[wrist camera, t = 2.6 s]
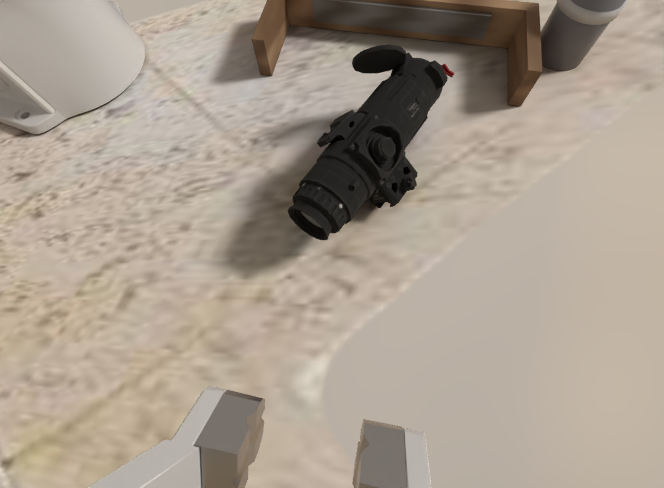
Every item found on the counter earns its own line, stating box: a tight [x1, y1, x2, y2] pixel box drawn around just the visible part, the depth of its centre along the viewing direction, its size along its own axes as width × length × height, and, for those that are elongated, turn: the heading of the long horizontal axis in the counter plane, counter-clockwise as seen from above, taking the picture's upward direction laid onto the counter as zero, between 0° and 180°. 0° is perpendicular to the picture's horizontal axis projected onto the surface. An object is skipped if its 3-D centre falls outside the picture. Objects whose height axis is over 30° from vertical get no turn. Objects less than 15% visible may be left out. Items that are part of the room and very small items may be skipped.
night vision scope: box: [288, 45, 454, 240], centre depth 28 cm, size 8×18×10 cm
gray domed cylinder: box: [540, 0, 627, 71], centre depth 33 cm, size 5×5×7 cm
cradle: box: [252, 0, 543, 106], centre depth 35 cm, size 26×9×4 cm, turn 79°
